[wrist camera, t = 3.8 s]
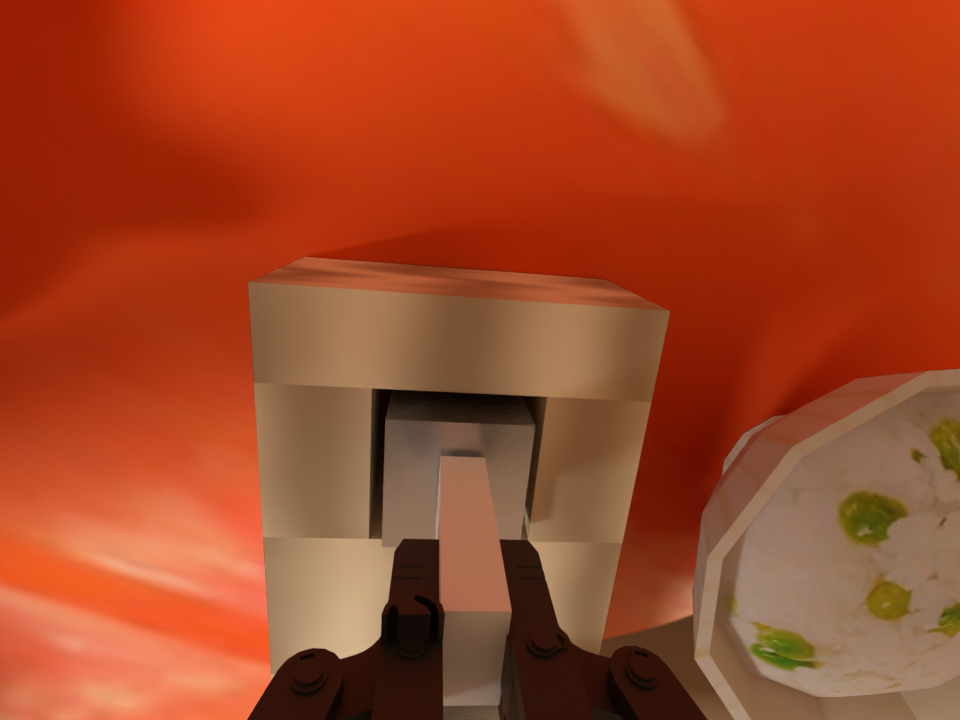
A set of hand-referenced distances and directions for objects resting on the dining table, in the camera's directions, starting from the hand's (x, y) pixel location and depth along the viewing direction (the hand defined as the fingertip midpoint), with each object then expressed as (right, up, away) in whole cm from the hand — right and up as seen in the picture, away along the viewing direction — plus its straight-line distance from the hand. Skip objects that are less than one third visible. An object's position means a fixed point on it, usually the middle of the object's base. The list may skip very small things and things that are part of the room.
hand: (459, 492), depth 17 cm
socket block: (-1, -4, +10) cm, 11 cm away
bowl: (+18, -2, +11) cm, 21 cm away
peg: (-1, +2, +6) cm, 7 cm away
